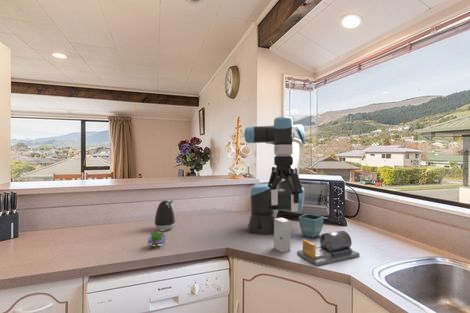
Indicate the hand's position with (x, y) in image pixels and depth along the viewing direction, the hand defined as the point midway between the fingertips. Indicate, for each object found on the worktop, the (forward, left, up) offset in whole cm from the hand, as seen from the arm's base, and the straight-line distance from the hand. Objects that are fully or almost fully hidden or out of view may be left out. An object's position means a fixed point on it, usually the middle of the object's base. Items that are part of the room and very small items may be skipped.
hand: (284, 208), depth 99 cm
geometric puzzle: (-23, -48, -17) cm, 56 cm away
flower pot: (-9, +21, -17) cm, 29 cm away
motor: (+12, +12, -17) cm, 24 cm away
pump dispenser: (-47, -42, -17) cm, 65 cm away
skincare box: (0, -1, -17) cm, 17 cm away
